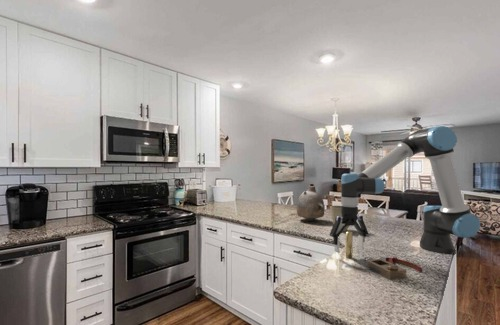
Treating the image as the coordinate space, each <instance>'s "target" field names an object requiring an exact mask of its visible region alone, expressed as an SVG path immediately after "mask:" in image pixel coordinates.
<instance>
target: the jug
mask: <svg viewBox="0 0 500 325" xmlns="http://www.w3.org/2000/svg"><path fill="white" fill-rule="evenodd" d="M296 213H297V215H298V217H301V218H304V219H306V220H308V221H309V222H312V221H315V220H316V219H319V218H323V217H324V215H325V202H324V200H323V196H321V194H320V193H319V192H318V191H317V190H316V183H314V182H313V183H309V184H308V189H307V190H306V191H305V190H304V191H303V192H302V193H301V194H299V197H298V199H297V203H296Z"/></svg>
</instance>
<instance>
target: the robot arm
mask: <svg viewBox="0 0 500 325" xmlns="http://www.w3.org/2000/svg"><path fill="white" fill-rule="evenodd" d="M456 134H457V133H456V132H455V131H454V130H453V129H452V128H450V127H448V126H445V125H439V126H432V127H427V128H423V129H418V130H416V131H414V132H412V133H410V134H409V135H407V136H405V138H403V139H402V140H400V141H399V142H398V143H397V146H396V147H395V148H393V149H392V150H391V151H389V152H388V153H386V154H385V155H384V156H382V157H381V158H380V159H378V160H377V161H375V162H374V163H373V164H370V166H368V167H367V168H365V169H364V170H363V171H362V172H360V173H343V174H342V175H341V179H340V180H341V181H340V185H341V187H340V189H341V190H340V191H341V197H340V201H341V202H340V203H341V204H340V206H341V213H342V216H341V217H339V216H336V219H335V223H334V224H333V225H332V228H331V229H330V232H329V236H330V237H332V240H333V242H332V243H333V245H334V252H336V253H337V254H338V253H340V245H341V244H340V238H339V237H340V235H341V234H342V231H343V230H344V228H345V227H346V226H349V227H351V226H352V227H354V228H355V230H356V231H357V232H358V234H359V235H358V240H357V241H358V243H357V244H358V246H357V249H359V250H361V251H364V248H365V247H364V243H365V239H366V237H367V235H369V231H368V228H367V226H366V224H365V221H364V216H363V215H361V214H359V208H358V206H359V195H361V194H371V195H373V194H374V195H376V194H382V193H383V192H384V191H385V182H384V180H383V179H382V178H381V177H382V176H384V175H385V174H387V173H388V172H389V171H391V170H392V169H393V168H395V167H396V166H397V165H399V164H401V162H403V161H404V160H406V159H407V158H412V157H414V156H415V155H417V154H420V153H423V154H424V157H425V158H426V159H427V160H429V162H430V165H431V166H430V167H431V169H432V173H433V177H434V181H435V185H436V188H437V190H438V195H439V199H440V203H441V205H424V206H423V212H422V215H423V219H422V220H423V232H422V235H421V238H420V241H419V247H420V248H421V249H423V250H426V251H429V252H434V253H435V252H436V253H440V254H452V253H455V245H454V243H453V240H452V238H451V235H453V236H456V237H458V238H464V239H469V238H472V237H474V236H476V235H477V234H478V232H479V230H480V229H481V221H480V219H479V217H478V216H476V215H475V214H473V213H472V211H471V208H470V206H469V205H467V204H466V203H465V202H464V199H463V195H462V191H461V188H460V183H459V180H458V176H457V172H456V169H455V165H454V163H453V162H454V161H453V158H452V155H453V153H454V152H455V151H454V148H455V147H456V144H457V142H458V137H457V135H456ZM341 221H342V222H341ZM340 222H341V223H340ZM339 225H340V226H339Z"/></svg>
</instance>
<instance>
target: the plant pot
mask: <svg viewBox="0 0 500 325" xmlns="http://www.w3.org/2000/svg"><path fill="white" fill-rule="evenodd" d="M341 206H342V205H331V206H329V207H330V216H331V220H332V223H333V225H334V223H335V219H336V216H339V217H341V216H342V213H341ZM341 222H342V221H341ZM341 222H340V223H341ZM339 226H340V225H339ZM349 227H350V226H346V227H345V228H344V230H343V231H342V232H345V233H346V232H347V231H348V229H349ZM342 232H341V233H342Z"/></svg>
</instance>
